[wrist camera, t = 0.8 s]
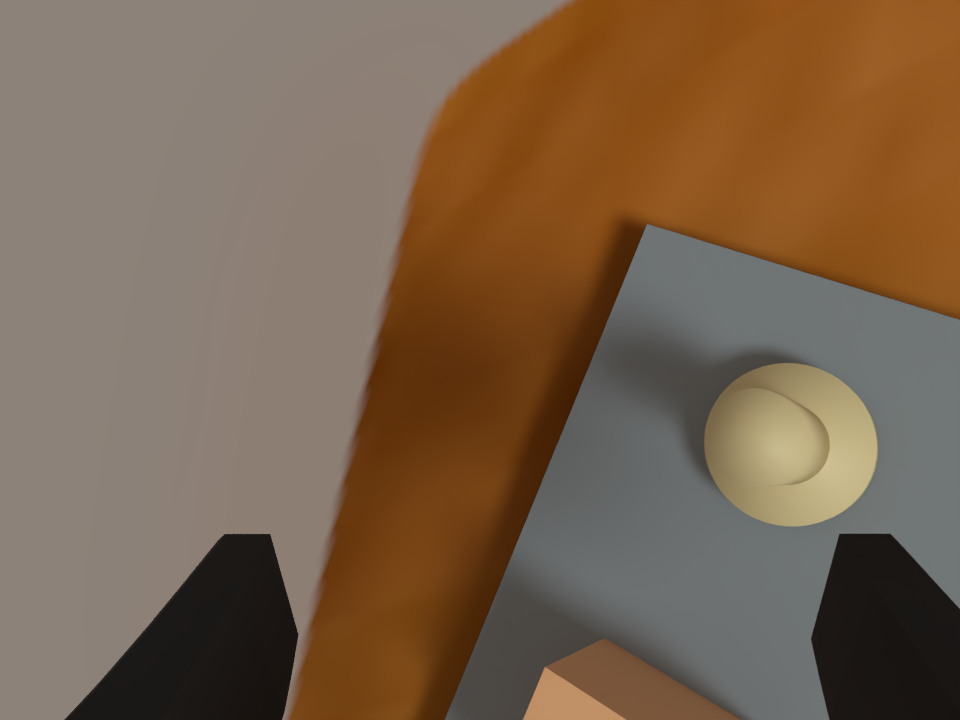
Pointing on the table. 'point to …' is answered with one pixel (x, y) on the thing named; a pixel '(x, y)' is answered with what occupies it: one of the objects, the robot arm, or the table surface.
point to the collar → (614, 690)
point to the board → (727, 480)
